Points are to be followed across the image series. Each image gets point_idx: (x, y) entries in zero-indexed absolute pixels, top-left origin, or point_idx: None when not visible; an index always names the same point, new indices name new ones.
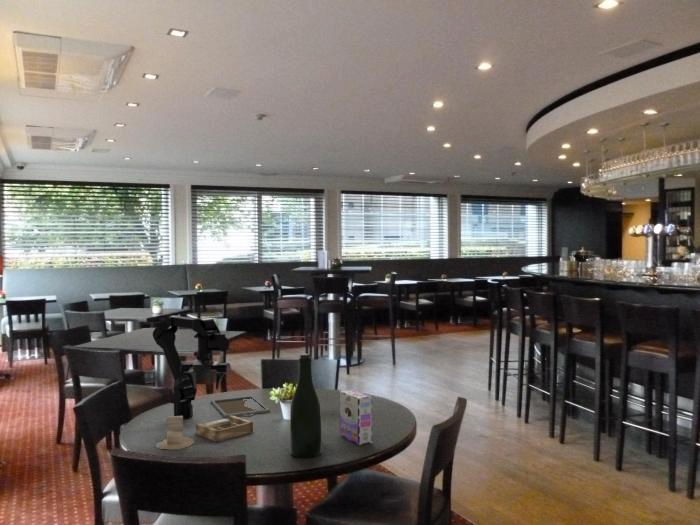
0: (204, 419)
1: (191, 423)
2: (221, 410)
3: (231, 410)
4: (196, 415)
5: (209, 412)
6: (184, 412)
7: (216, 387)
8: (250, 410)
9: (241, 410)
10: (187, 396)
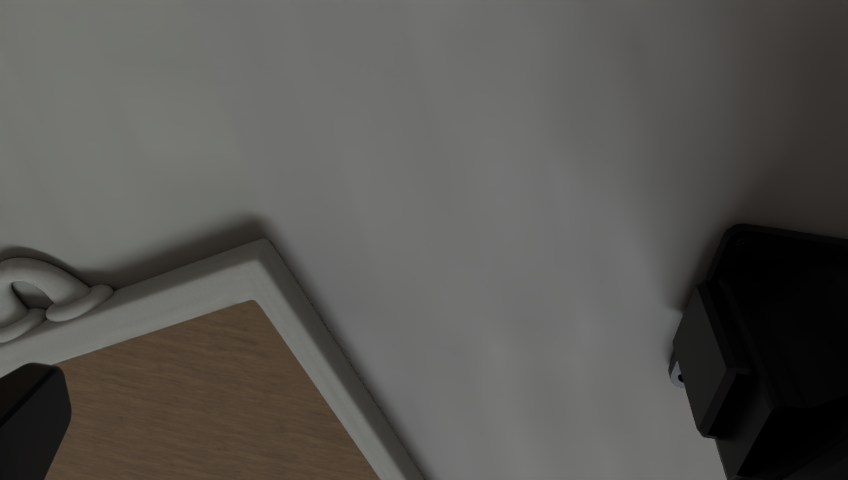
0: (500, 200)
1: (654, 31)
2: (354, 420)
3: (278, 454)
4: (625, 355)
5: (495, 432)
6: (793, 300)
7: (7, 399)
8: (91, 435)
9: (178, 443)
10: (839, 456)
